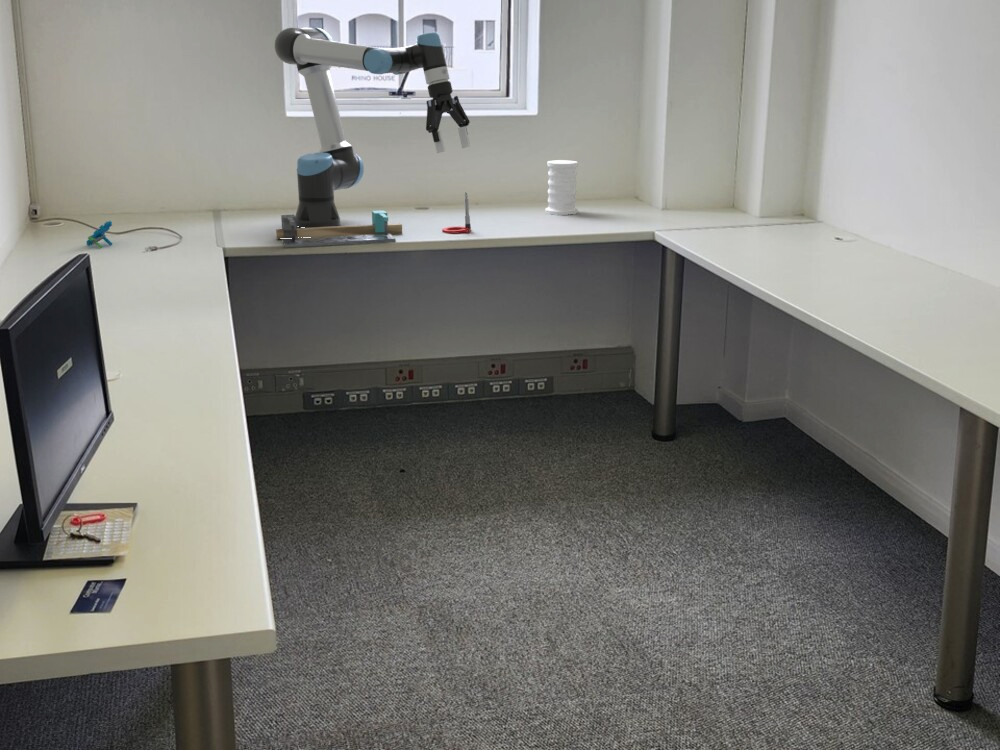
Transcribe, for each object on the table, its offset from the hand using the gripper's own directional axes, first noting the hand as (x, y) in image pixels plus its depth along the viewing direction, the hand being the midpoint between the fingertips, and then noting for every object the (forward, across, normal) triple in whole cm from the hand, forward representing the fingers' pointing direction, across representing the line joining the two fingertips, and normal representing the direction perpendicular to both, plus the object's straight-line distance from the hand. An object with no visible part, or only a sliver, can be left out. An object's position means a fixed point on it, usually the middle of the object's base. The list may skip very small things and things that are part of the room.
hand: (453, 149), depth 360 cm
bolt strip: (+20, -35, +25) cm, 48 cm away
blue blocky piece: (+5, -82, +79) cm, 113 cm away
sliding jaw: (+21, -20, +20) cm, 35 cm away
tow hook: (+26, +1, +7) cm, 27 cm away
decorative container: (+29, +52, -1) cm, 60 cm away
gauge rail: (+19, -30, +28) cm, 46 cm away
